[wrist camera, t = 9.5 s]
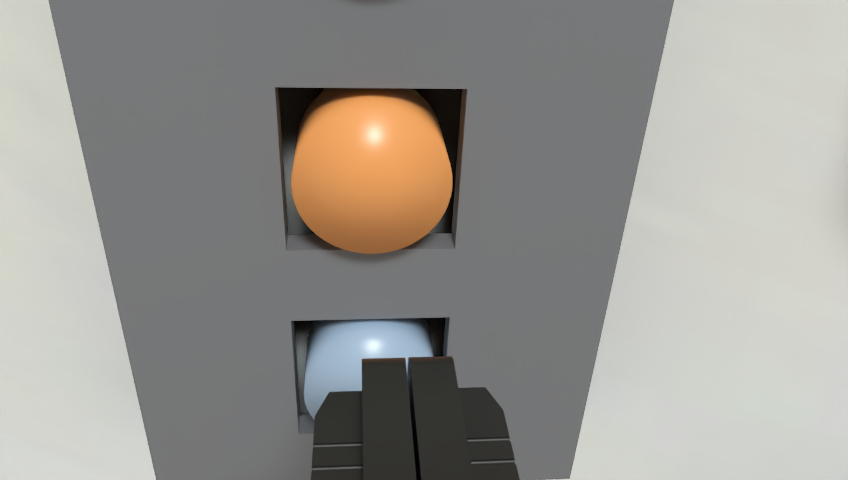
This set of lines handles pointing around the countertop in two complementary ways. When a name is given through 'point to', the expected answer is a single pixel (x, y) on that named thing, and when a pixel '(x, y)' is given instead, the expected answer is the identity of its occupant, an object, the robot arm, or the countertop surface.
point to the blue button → (357, 352)
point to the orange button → (370, 168)
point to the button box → (334, 267)
